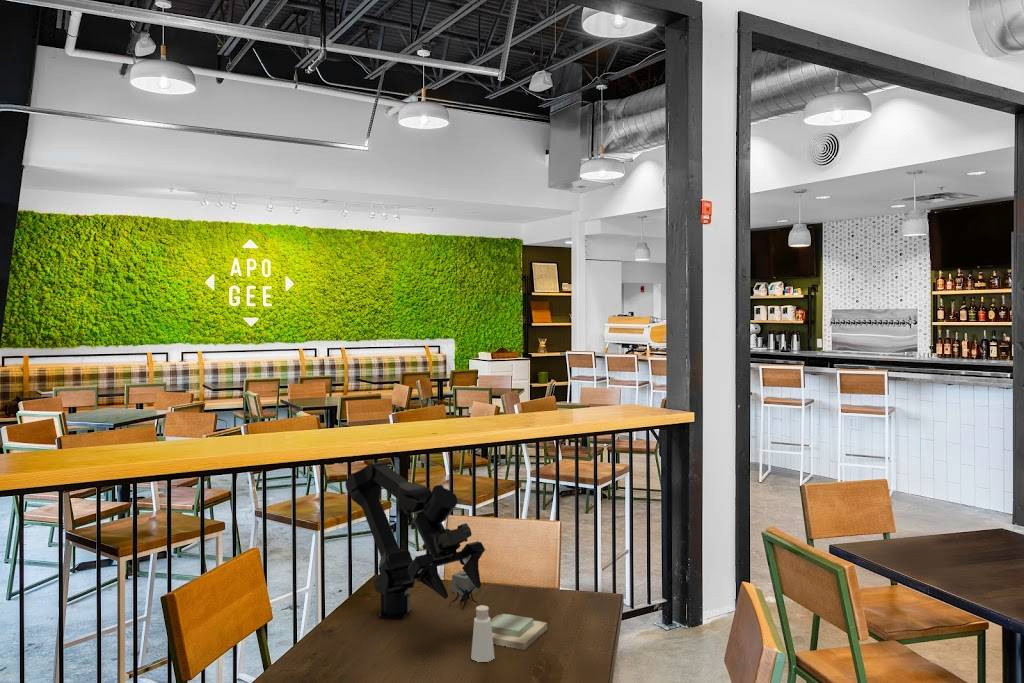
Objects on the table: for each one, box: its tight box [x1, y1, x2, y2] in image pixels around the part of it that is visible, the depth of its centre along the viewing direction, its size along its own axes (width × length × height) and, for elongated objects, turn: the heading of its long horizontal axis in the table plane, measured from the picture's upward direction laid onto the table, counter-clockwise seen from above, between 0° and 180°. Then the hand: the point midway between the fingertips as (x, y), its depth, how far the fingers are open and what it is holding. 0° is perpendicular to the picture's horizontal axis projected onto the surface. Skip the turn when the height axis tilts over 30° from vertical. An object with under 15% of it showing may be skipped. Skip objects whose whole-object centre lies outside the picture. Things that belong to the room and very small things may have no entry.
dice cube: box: [451, 570, 479, 594], centre depth 203 cm, size 5×5×5 cm
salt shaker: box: [470, 604, 496, 663], centre depth 162 cm, size 5×5×11 cm
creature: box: [448, 585, 480, 611], centre depth 193 cm, size 8×5×8 cm
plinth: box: [490, 613, 548, 651], centre depth 174 cm, size 13×13×3 cm
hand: (463, 592), depth 167 cm, fingers open, 9 cm apart
